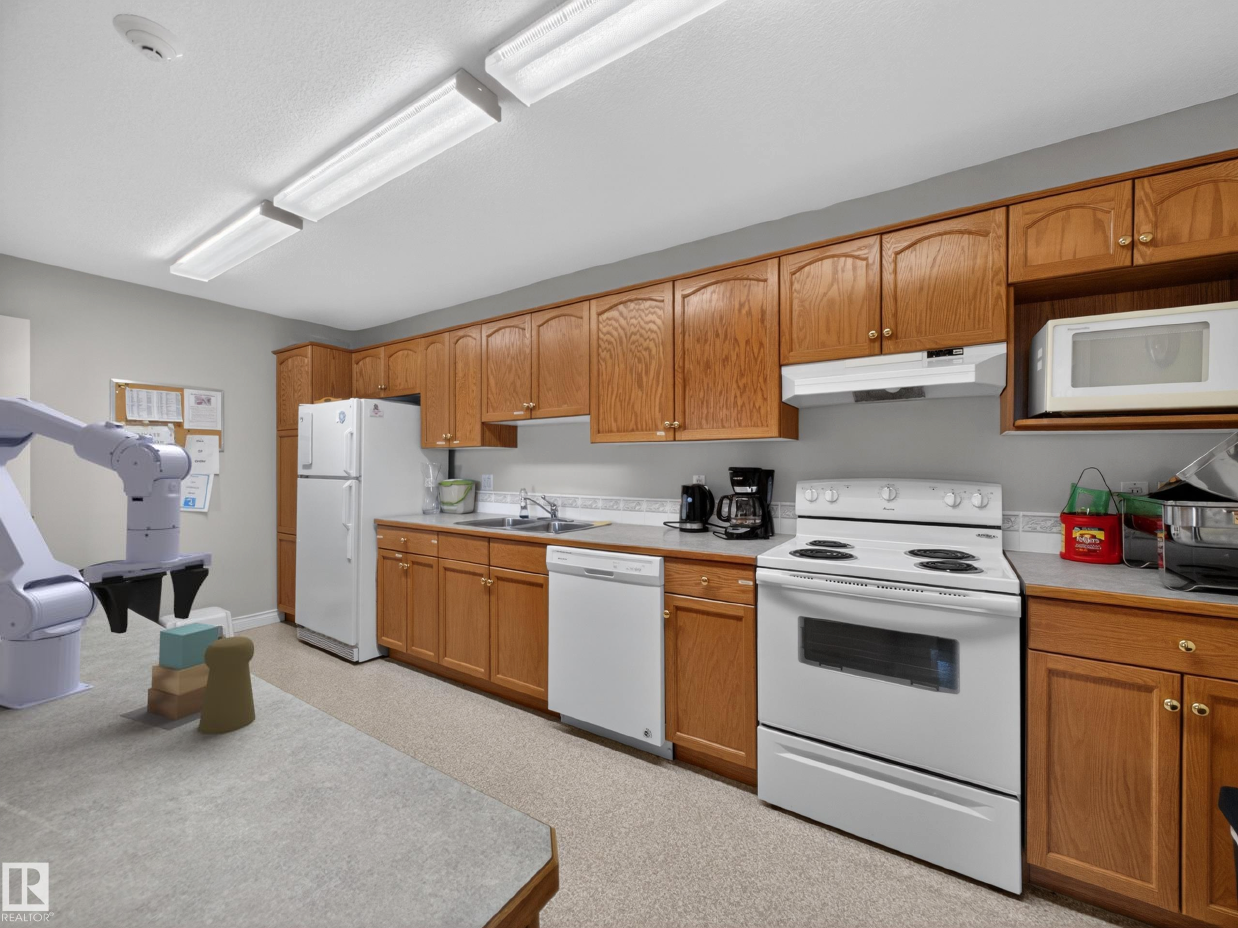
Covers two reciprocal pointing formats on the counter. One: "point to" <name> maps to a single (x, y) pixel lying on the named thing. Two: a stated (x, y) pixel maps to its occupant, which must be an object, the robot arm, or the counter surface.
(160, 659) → the teal block
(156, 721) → the coaster mat
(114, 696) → the counter surface
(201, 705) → the walnut base block
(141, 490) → the robot arm
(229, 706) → the cork
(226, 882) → the counter surface
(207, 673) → the oak top block
